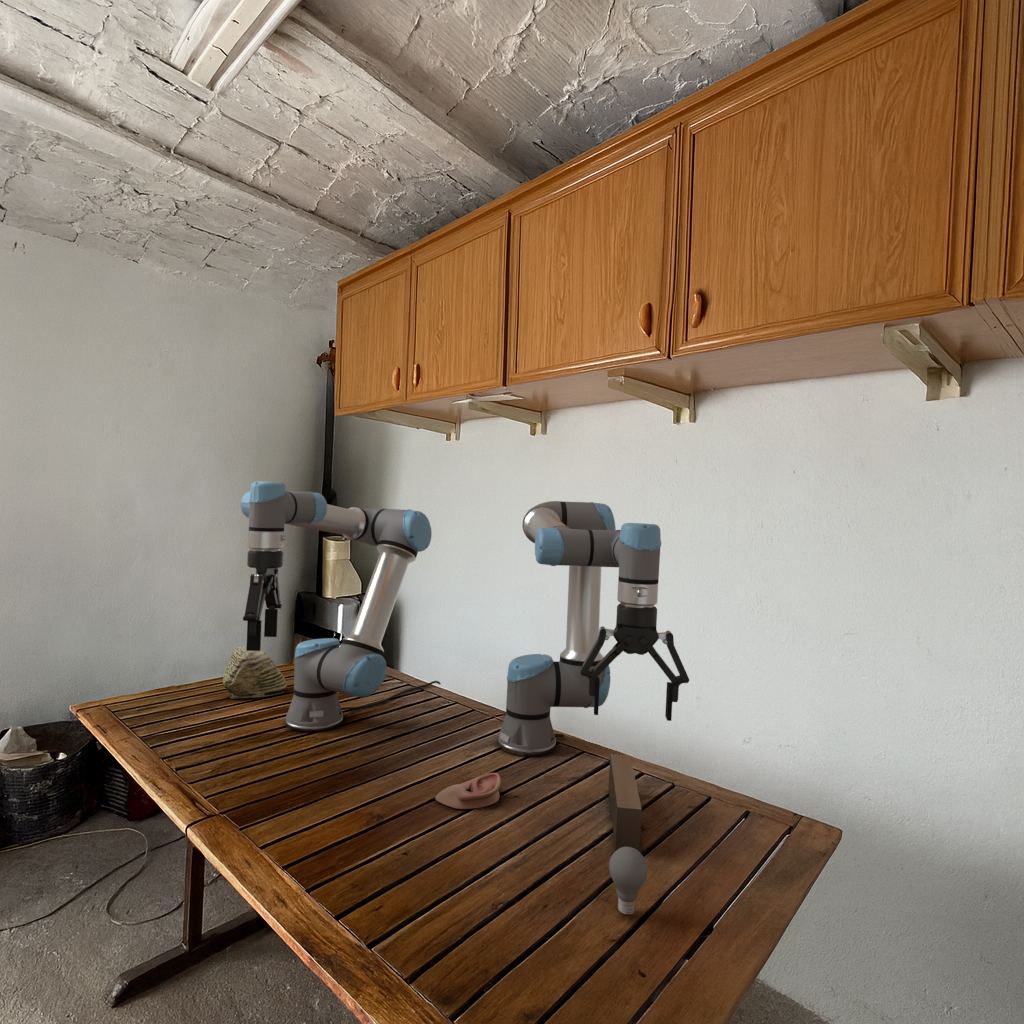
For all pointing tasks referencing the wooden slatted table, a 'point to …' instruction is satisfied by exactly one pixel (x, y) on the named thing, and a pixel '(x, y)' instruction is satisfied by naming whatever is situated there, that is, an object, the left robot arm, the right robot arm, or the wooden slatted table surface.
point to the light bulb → (627, 876)
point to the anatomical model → (472, 793)
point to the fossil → (252, 675)
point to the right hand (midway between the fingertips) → (631, 715)
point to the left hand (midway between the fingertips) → (262, 643)
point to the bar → (624, 803)
